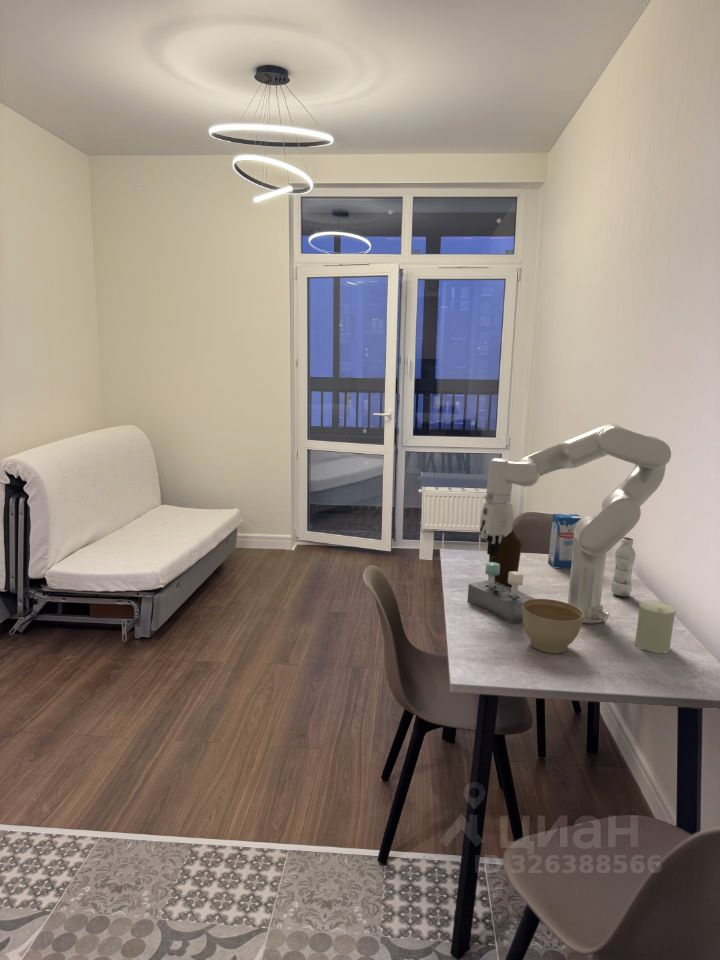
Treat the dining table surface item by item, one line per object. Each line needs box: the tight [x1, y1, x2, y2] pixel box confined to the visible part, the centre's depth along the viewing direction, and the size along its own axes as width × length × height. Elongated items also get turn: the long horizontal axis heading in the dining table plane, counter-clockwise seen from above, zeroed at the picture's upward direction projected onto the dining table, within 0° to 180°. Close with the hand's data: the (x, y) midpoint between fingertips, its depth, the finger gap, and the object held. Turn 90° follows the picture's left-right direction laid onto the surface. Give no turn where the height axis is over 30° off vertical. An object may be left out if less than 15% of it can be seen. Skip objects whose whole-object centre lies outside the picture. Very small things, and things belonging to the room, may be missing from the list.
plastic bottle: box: [610, 536, 637, 598], centre depth 218 cm, size 6×7×20 cm
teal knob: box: [484, 561, 500, 589], centre depth 204 cm, size 4×4×9 cm
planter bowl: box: [522, 598, 584, 654], centre depth 175 cm, size 16×16×11 cm
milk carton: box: [547, 513, 584, 569], centre depth 249 cm, size 10×6×20 cm, turn 94°
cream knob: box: [508, 571, 524, 599], centre depth 196 cm, size 4×4×9 cm
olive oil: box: [487, 528, 522, 588], centre depth 220 cm, size 11×11×25 cm
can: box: [634, 600, 677, 654], centre depth 178 cm, size 9×9×12 cm
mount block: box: [466, 579, 536, 625], centre depth 201 cm, size 20×10×6 cm, turn 32°
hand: (492, 554), depth 203 cm, fingers closed
